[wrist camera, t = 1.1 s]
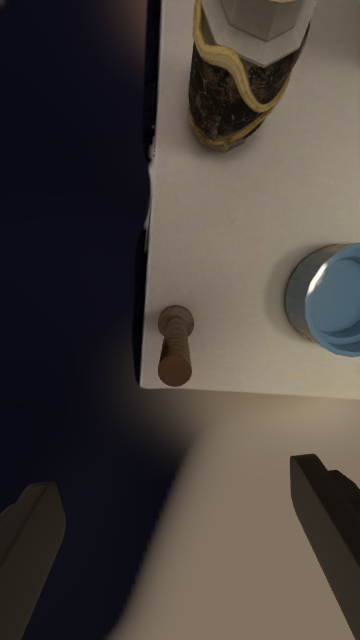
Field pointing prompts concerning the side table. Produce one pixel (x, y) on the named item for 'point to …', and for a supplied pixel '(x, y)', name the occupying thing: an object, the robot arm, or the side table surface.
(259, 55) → the lantern
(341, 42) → the side table surface
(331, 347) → the bowl
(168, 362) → the brown wooden peg
